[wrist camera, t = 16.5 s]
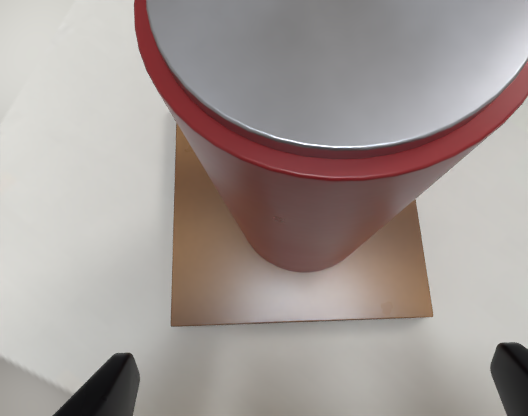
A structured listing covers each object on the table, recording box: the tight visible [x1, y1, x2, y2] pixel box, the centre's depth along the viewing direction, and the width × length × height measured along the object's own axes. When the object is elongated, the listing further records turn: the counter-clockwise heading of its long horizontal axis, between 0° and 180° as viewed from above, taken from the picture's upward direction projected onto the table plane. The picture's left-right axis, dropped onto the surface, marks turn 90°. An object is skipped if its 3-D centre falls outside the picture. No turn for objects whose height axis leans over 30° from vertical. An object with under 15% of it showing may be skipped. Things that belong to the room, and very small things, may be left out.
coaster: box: [171, 122, 433, 327], centre depth 19 cm, size 12×12×1 cm
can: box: [134, 0, 528, 272], centre depth 12 cm, size 6×6×13 cm
